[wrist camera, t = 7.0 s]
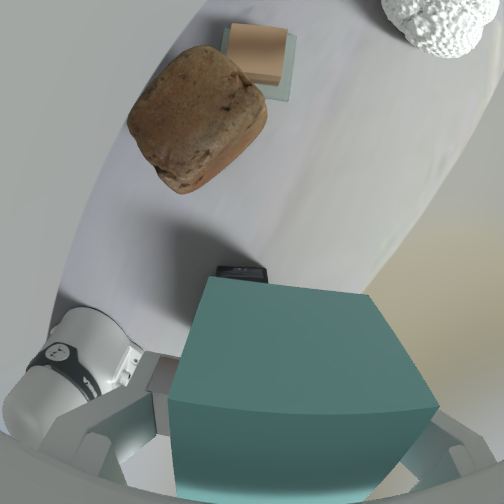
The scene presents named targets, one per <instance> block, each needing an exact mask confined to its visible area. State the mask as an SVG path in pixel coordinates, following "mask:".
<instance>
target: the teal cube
mask: <svg viewBox="0 0 504 504" xmlns="http://www.w3.org/2000/svg"><path fill="white" fill-rule="evenodd" d="M439 407H440V405H439V404H438V402H437V401H436V399H435V397H434V395H433V394H432V392H431V390H430V389H429V387H428V385H427V384H426V382H425V380H424V379H423V377H422V376H421V374H420V372H419V371H418V369H417V367H416V366H415V364H414V363H413V361H412V360H411V358H410V356H409V355H408V353H407V352H406V350H405V349H404V347H403V346H402V344H401V342H400V341H399V339H398V338H397V337H396V335H395V333H394V332H393V330H392V329H391V327H390V326H389V325H388V323H387V322H386V320H385V318H384V317H383V316H382V314H381V313H380V311H379V310H378V308H377V307H376V305H375V304H374V302H373V301H372V300H371V298H370V297H369V295H364V294H355V293H345V292H336V291H327V290H318V289H309V288H300V287H292V286H283V285H275V284H267V283H259V282H251V281H243V280H236V279H228V278H221V277H214V276H209V278H208V280H207V283H206V286H205V289H204V292H203V295H202V297H201V300H200V303H199V306H198V309H197V312H196V315H195V317H194V320H193V323H192V326H191V329H190V332H189V335H188V338H187V341H186V344H185V347H184V350H183V353H182V356H181V359H180V362H179V365H178V368H177V371H176V374H175V377H174V380H173V383H172V386H171V389H170V392H169V395H168V414H169V427H170V438H171V449H172V458H173V467H174V475H175V483H176V490H177V497H178V498H182V499H188V500H194V501H200V502H207V503H215V504H349V503H357V502H362V501H363V500H364V499H365V498H366V497H367V496H368V495H369V494H370V493H371V492H372V491H373V490H374V489H375V488H376V487H377V486H378V485H379V484H380V483H381V482H382V481H383V479H384V478H385V477H386V476H387V475H388V474H389V473H390V472H391V470H392V469H393V468H394V467H395V466H396V465H397V463H398V462H399V461H400V460H401V459H402V457H403V456H404V455H405V454H406V453H407V451H408V450H409V449H410V447H411V446H412V445H413V444H414V442H415V441H416V440H417V438H418V437H419V436H420V434H421V433H422V432H423V430H424V429H425V427H426V426H427V425H428V423H429V422H430V420H431V419H432V417H433V416H434V414H435V413H436V412H437V410H438V408H439Z"/></svg>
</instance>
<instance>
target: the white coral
mask: <svg viewBox="0 0 504 504" xmlns="http://www.w3.org/2000/svg"><path fill="white" fill-rule="evenodd" d="M381 3H382V7H383V10H384V11H385V14H386V15H387V17H388V20H390V21H391V22H392V23H393V25H394V26H396V27H397V29H399V31H401V32H403V33H404V34H405V38H406V39H407V40H408V41H409V42H410V43H411V44H413V45H414V46H417V48H418V49H420V50H424V51H425V52H426V53H428V54H431V55H433V56H436V57H443V58H453V57H455V58H458V57H460V56H462V55H463V54H468V52H470V51H471V49H475V45H476V44H478V42H479V41H478V40H480V39H481V37H482V30H483V26H484V25H487V23H489V22H491V21H492V19H493V18H494V16H495V15H496V13H497V9H498V5H499V4H500V3H499V0H382V1H381Z"/></svg>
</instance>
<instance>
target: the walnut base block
mask: <svg viewBox="0 0 504 504" xmlns="http://www.w3.org/2000/svg"><path fill="white" fill-rule="evenodd" d="M287 30H288V29H283V28H276V27H268V26H260V25H250V24H237V23H232V25H231V31H230V36H229V42H228V48H227V54H226V56H227V57H228V58H229V59H230V60H231V61H232V62H234V63H235V64H236V65H237V66H238V67H239V68H240V69H241V70H242V71H243V72H244V73H245V74H246V75H247V76H248V78H249V79H250V80H251V81H252V82H253V83H254V84H262V85H270V86H277V87H278V85H279V82H280V80H281V77H282V69H283V61H284V54H285V46H286V38H287Z"/></svg>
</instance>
